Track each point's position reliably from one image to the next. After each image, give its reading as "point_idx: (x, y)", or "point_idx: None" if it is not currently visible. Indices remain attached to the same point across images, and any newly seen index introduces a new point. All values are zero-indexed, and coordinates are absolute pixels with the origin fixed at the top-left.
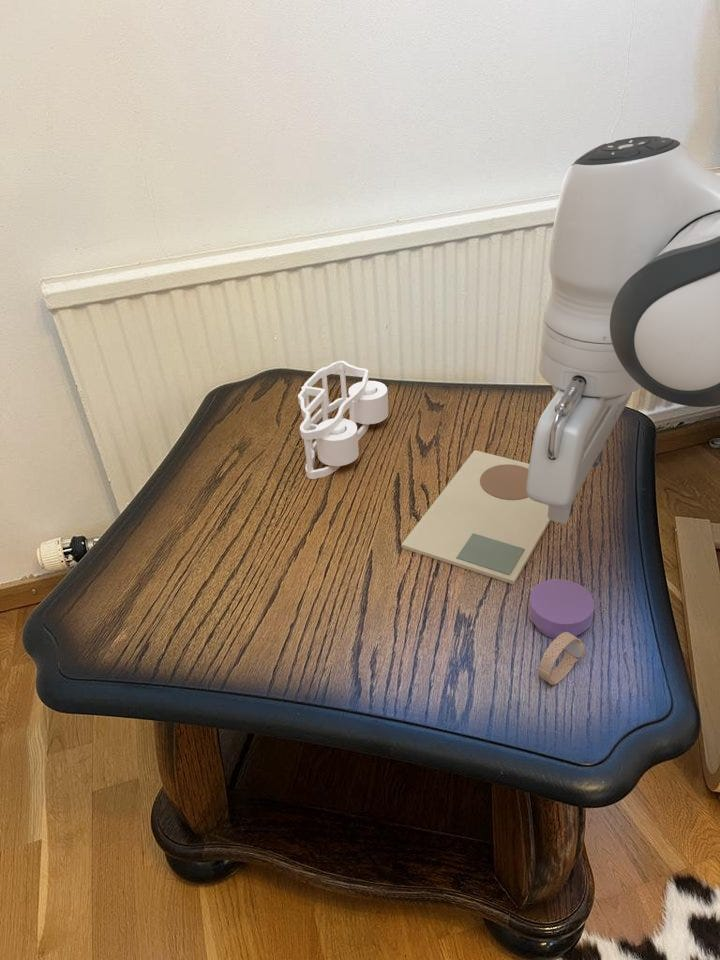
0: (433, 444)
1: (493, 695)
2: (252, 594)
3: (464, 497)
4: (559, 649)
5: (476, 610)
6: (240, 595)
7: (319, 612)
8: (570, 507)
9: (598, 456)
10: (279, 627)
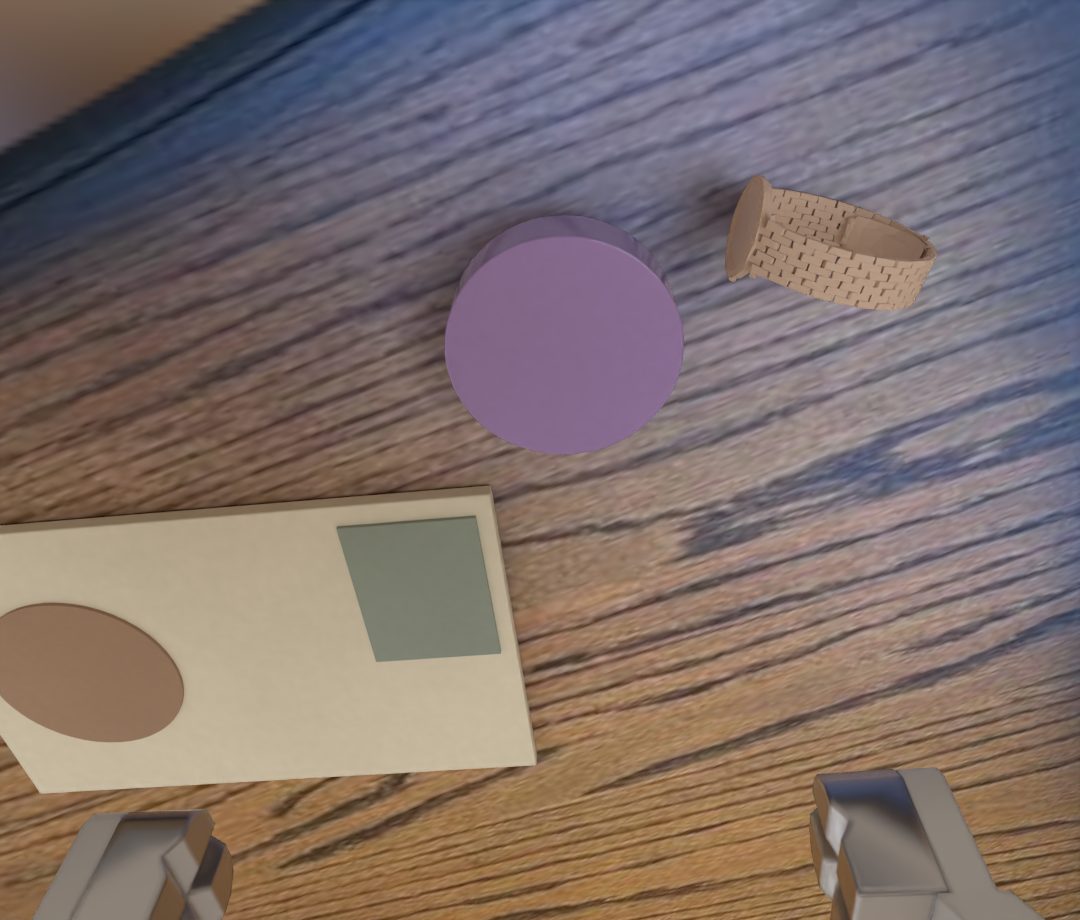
0: None
1: (959, 348)
2: None
3: (250, 733)
4: (898, 271)
5: (652, 523)
6: None
7: None
8: (971, 887)
9: (162, 893)
10: None
